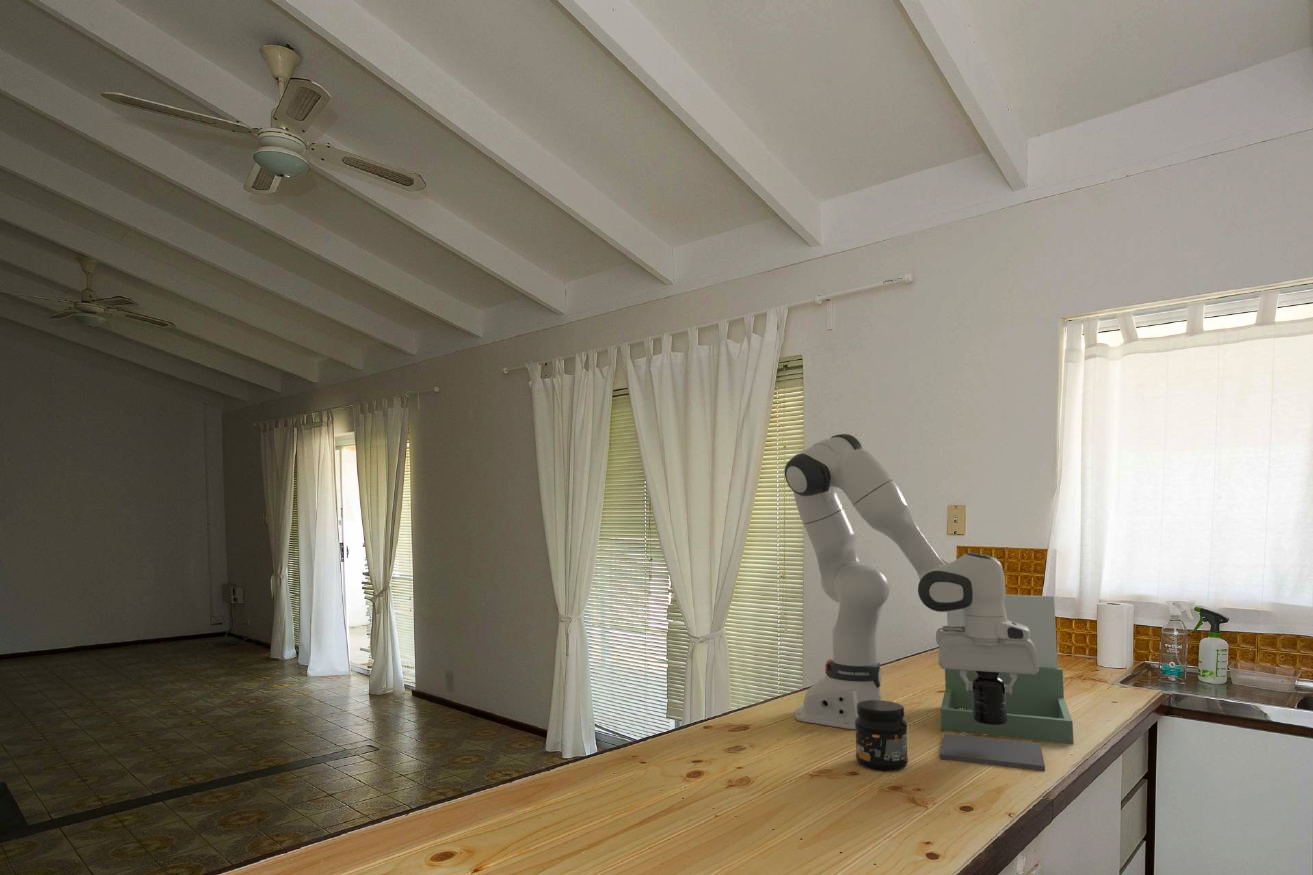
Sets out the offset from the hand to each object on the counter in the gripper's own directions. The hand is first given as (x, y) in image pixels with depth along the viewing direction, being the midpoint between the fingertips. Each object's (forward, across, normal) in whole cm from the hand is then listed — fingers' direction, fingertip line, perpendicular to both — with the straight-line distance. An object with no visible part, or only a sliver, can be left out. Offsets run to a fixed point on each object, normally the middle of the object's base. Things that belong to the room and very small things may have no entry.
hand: (989, 692), depth 170 cm
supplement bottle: (+7, 0, +1) cm, 7 cm away
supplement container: (+13, -21, -16) cm, 29 cm away
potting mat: (+13, 0, 0) cm, 13 cm away
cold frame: (+13, +3, +26) cm, 29 cm away
